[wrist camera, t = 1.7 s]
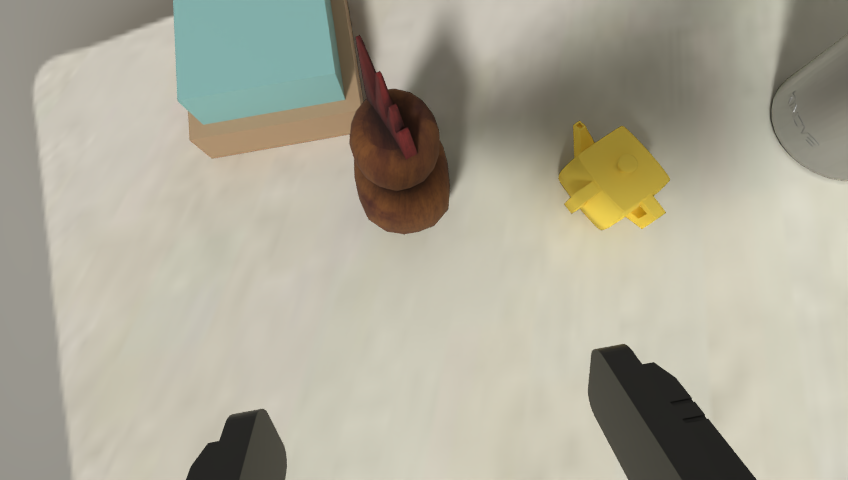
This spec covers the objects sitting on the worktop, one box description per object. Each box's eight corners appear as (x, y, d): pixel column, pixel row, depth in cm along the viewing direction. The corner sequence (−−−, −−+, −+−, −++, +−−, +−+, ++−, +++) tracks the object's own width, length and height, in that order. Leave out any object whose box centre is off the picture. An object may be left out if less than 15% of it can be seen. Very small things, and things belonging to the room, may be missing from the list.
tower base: (347, 1, 35) (329, -67, 29) (368, 131, 32) (352, 84, 26) (203, 25, 35) (156, -38, 29) (211, 158, 32) (162, 117, 26)
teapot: (522, 173, 31) (539, 141, 26) (584, 132, 32) (612, 92, 27) (593, 261, 30) (624, 245, 25) (656, 216, 30) (700, 191, 25)
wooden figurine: (362, 163, 32) (299, 10, 17) (439, 151, 32) (441, -11, 17) (373, 250, 30) (314, 165, 16) (453, 238, 30) (470, 141, 16)
